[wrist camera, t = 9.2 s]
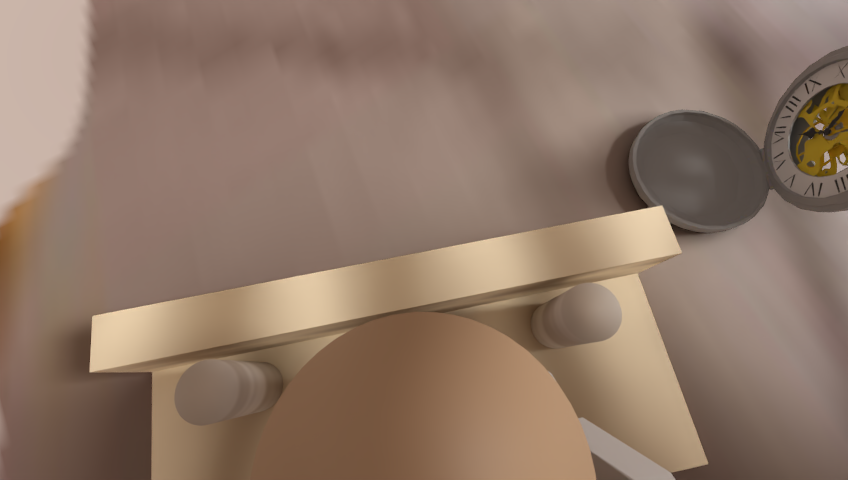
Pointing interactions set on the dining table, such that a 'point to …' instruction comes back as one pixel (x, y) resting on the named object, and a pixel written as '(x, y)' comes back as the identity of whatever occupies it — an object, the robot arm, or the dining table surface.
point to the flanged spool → (423, 409)
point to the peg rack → (403, 293)
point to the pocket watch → (749, 156)
